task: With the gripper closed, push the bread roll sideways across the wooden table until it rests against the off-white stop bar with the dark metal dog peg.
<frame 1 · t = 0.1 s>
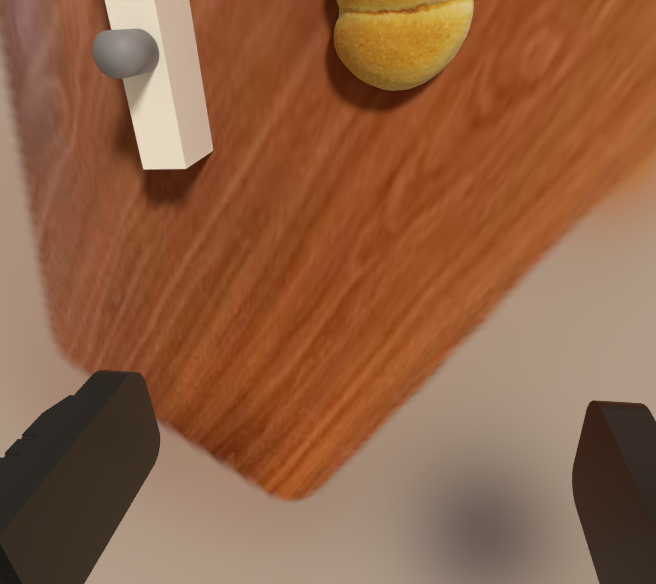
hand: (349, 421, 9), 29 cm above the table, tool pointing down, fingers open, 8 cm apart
bench stop: (175, 46, 35), on the table
bread roll: (400, 5, 32), on the table
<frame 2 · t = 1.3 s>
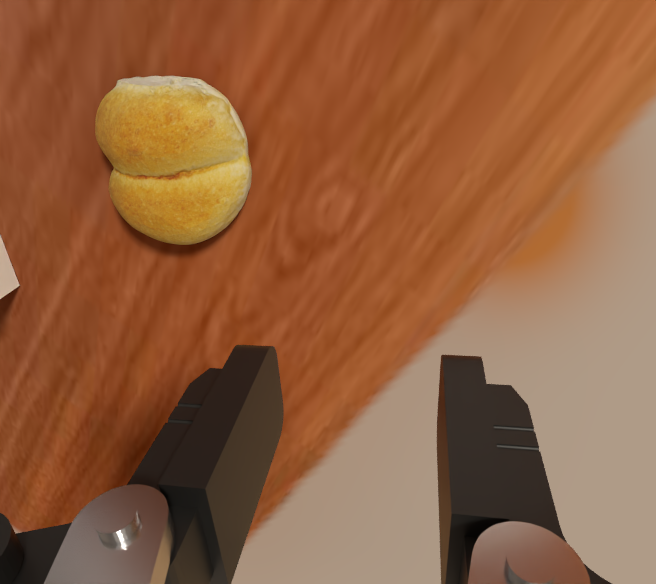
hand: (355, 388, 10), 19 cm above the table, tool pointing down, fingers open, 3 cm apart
bread roll: (183, 154, 29), on the table
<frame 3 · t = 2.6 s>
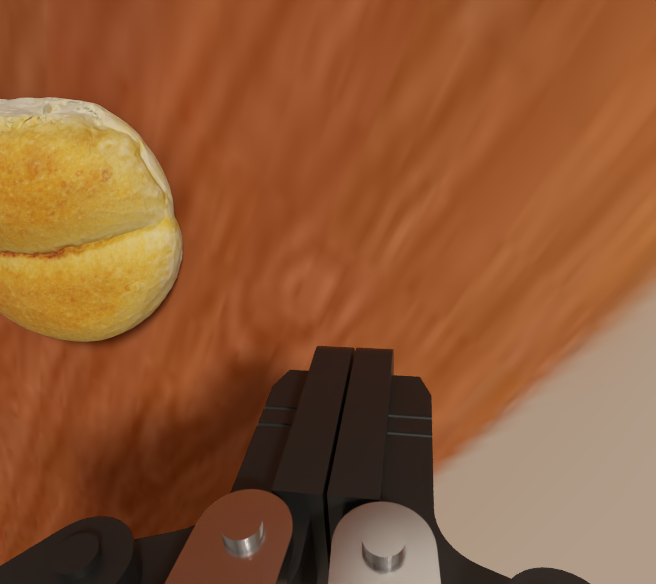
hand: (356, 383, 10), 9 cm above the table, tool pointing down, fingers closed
bread roll: (86, 209, 20), on the table
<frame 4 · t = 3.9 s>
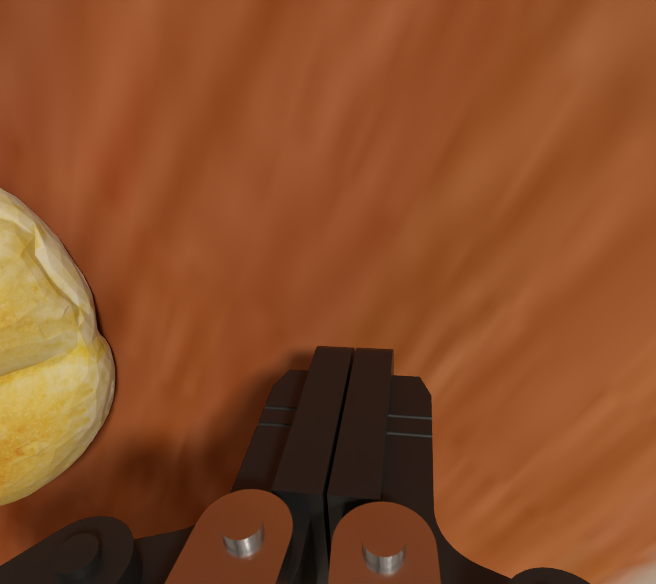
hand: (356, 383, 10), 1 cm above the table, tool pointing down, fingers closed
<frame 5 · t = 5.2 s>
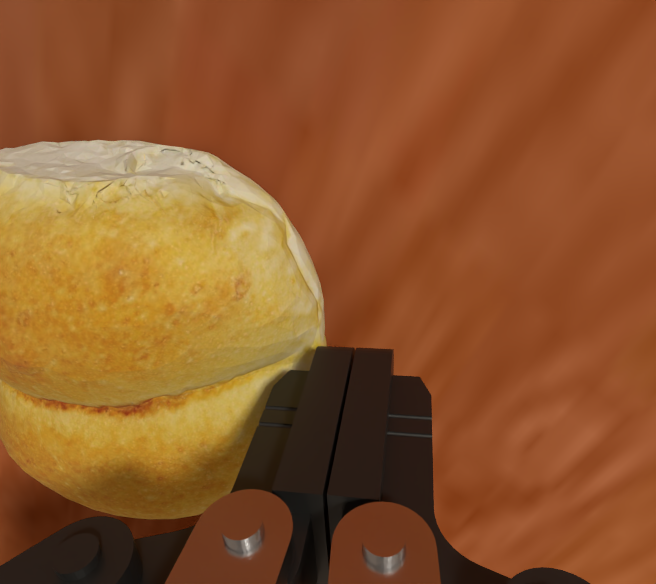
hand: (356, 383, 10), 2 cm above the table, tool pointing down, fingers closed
bread roll: (166, 304, 13), on the table, touching gripper
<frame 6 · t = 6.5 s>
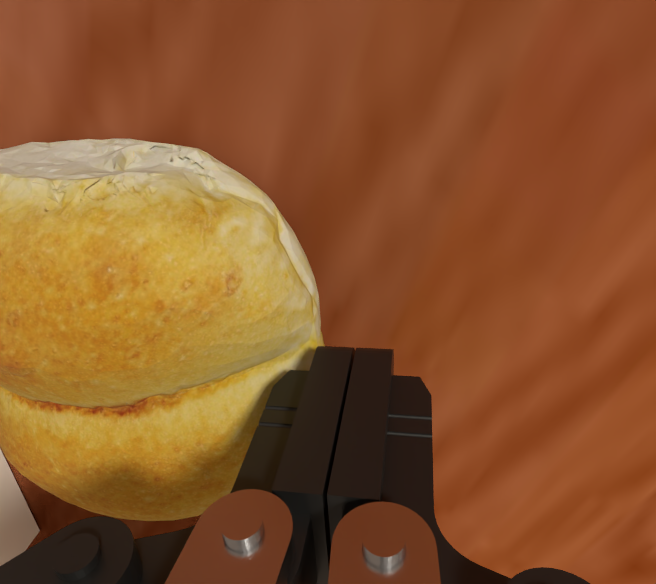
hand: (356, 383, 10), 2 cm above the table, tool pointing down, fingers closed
bread roll: (162, 304, 13), on the table
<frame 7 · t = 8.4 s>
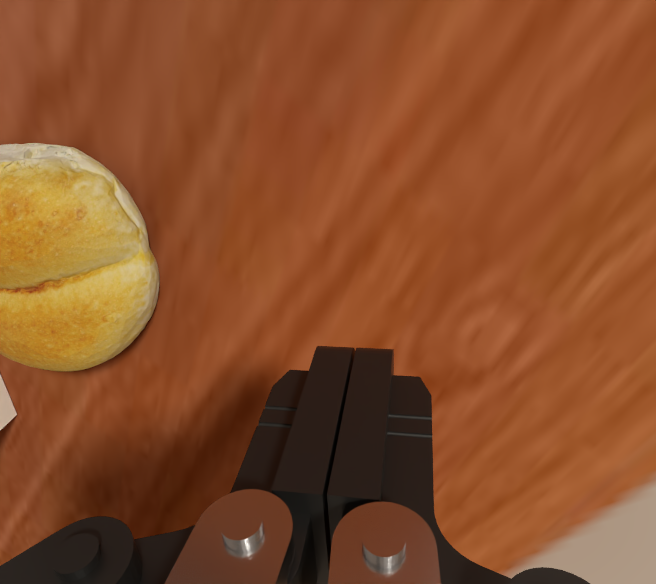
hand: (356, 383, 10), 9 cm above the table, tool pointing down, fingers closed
bread roll: (69, 245, 21), on the table
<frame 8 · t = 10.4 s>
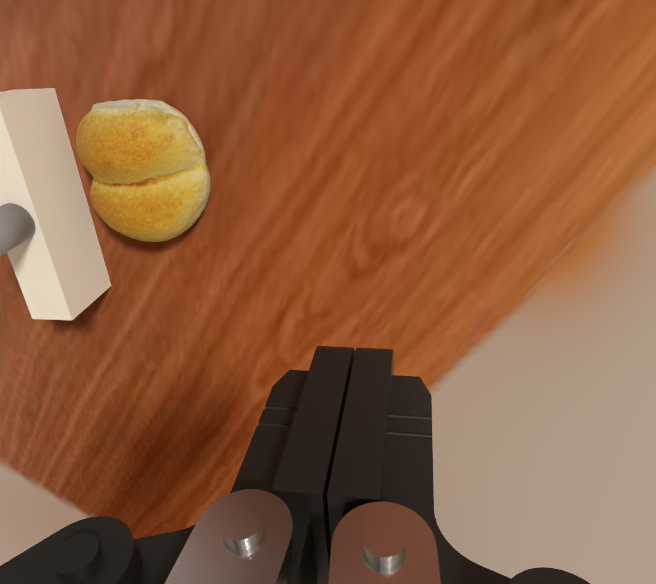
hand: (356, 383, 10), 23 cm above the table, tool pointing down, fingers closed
bench stop: (66, 196, 36), on the table
bread roll: (153, 164, 34), on the table
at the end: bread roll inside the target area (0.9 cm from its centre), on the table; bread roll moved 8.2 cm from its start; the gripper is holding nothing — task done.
